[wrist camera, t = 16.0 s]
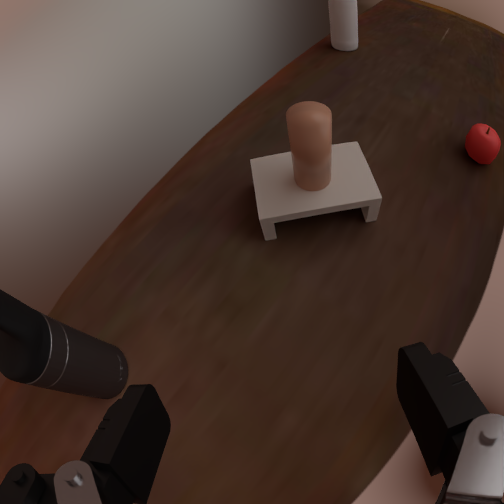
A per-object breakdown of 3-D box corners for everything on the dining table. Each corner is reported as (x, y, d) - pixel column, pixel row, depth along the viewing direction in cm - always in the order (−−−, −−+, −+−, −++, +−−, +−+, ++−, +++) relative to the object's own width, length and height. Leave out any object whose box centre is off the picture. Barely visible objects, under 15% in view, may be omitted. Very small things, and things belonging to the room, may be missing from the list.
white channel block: (265, 240, 50) (259, 219, 44) (256, 182, 55) (250, 159, 50) (376, 220, 48) (382, 197, 42) (354, 165, 53) (357, 141, 48)
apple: (476, 138, 52) (486, 111, 45) (499, 164, 48) (513, 138, 41) (454, 146, 52) (464, 117, 45) (478, 174, 48) (492, 146, 41)
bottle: (357, 41, 75) (353, -46, 49) (359, 52, 72) (355, -42, 46) (331, 40, 77) (322, -47, 51) (331, 50, 74) (322, -43, 48)
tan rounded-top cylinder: (297, 193, 45) (290, 131, 35) (291, 166, 48) (282, 104, 37) (335, 188, 44) (336, 124, 34) (326, 161, 47) (325, 99, 37)
